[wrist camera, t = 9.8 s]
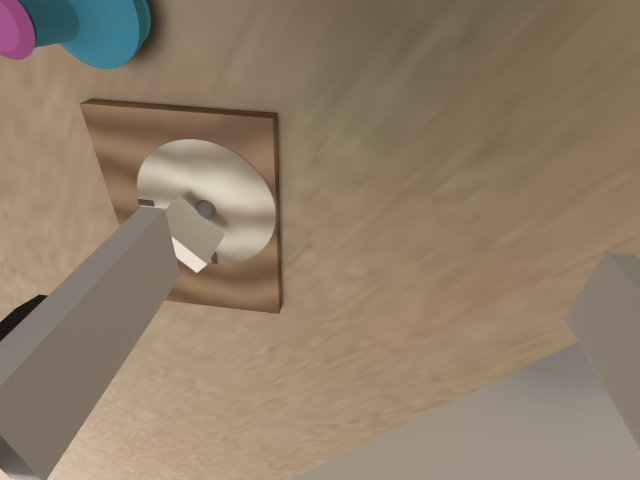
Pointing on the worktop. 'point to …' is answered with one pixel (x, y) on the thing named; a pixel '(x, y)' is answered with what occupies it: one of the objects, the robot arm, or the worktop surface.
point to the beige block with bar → (193, 232)
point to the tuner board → (200, 188)
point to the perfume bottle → (75, 28)
